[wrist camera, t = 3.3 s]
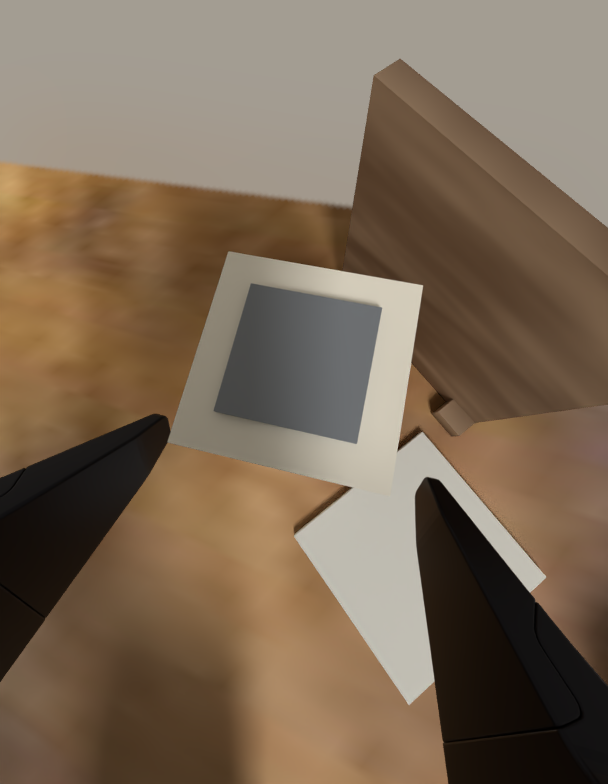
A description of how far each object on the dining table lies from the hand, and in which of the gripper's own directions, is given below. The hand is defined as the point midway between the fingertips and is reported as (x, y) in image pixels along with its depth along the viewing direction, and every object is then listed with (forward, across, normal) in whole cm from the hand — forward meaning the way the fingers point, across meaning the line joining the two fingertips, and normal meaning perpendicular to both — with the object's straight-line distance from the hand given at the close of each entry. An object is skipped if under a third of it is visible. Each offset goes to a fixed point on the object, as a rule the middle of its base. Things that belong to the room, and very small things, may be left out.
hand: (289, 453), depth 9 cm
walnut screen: (+13, -6, 0) cm, 15 cm away
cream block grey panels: (+8, 0, +5) cm, 10 cm away
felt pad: (+3, -8, +10) cm, 14 cm away
